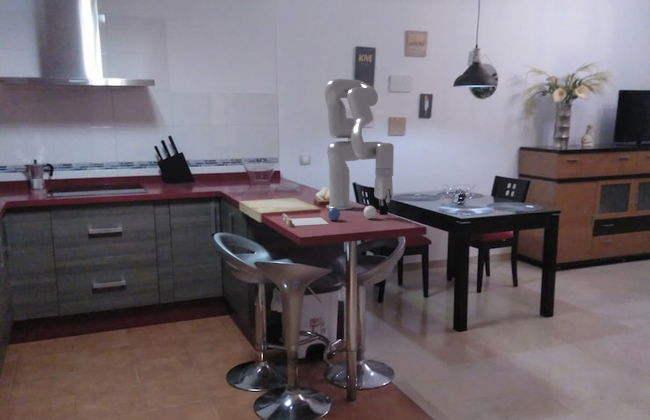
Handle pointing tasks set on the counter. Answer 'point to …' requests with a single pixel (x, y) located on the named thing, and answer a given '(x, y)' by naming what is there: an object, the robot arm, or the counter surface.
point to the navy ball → (333, 214)
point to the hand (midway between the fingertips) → (383, 214)
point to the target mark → (308, 221)
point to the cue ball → (370, 212)
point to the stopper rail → (287, 220)
